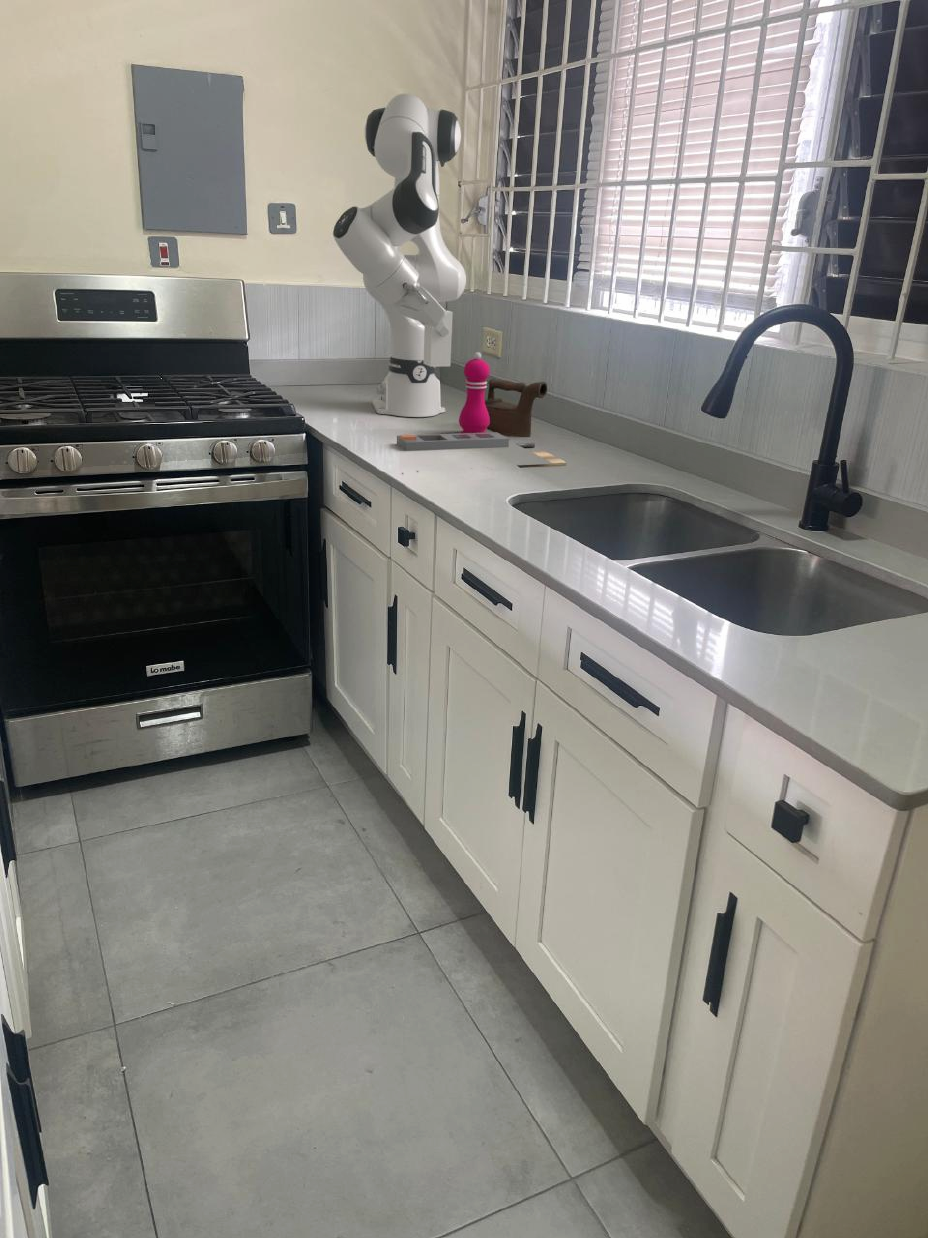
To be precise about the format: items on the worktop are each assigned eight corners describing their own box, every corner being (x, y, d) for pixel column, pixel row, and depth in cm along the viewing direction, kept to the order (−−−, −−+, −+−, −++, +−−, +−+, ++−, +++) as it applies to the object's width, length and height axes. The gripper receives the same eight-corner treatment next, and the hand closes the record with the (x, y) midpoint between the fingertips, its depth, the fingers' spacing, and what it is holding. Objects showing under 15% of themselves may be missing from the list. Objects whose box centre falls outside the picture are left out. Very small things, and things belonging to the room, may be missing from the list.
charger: (423, 363, 200) (425, 308, 196) (443, 363, 202) (445, 308, 197) (430, 366, 196) (432, 310, 192) (450, 366, 198) (452, 310, 194)
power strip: (396, 449, 207) (396, 432, 206) (527, 443, 218) (528, 428, 217) (406, 456, 201) (406, 439, 200) (540, 450, 212) (541, 434, 211)
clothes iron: (529, 441, 222) (533, 383, 216) (476, 430, 231) (479, 374, 225) (548, 436, 227) (552, 380, 222) (496, 425, 237) (499, 371, 231)
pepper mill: (485, 444, 216) (490, 355, 208) (455, 441, 217) (458, 352, 209) (491, 437, 223) (496, 351, 215) (461, 435, 224) (465, 349, 216)
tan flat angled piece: (499, 455, 206) (499, 452, 205) (544, 453, 210) (544, 450, 209) (520, 467, 196) (520, 464, 196) (566, 465, 200) (566, 462, 200)
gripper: (424, 274, 181) (469, 327, 188) (393, 268, 198) (435, 316, 205) (402, 298, 181) (447, 350, 188) (372, 289, 198) (415, 337, 205)
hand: (440, 332), depth 197 cm, fingers closed on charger, 4 cm apart
